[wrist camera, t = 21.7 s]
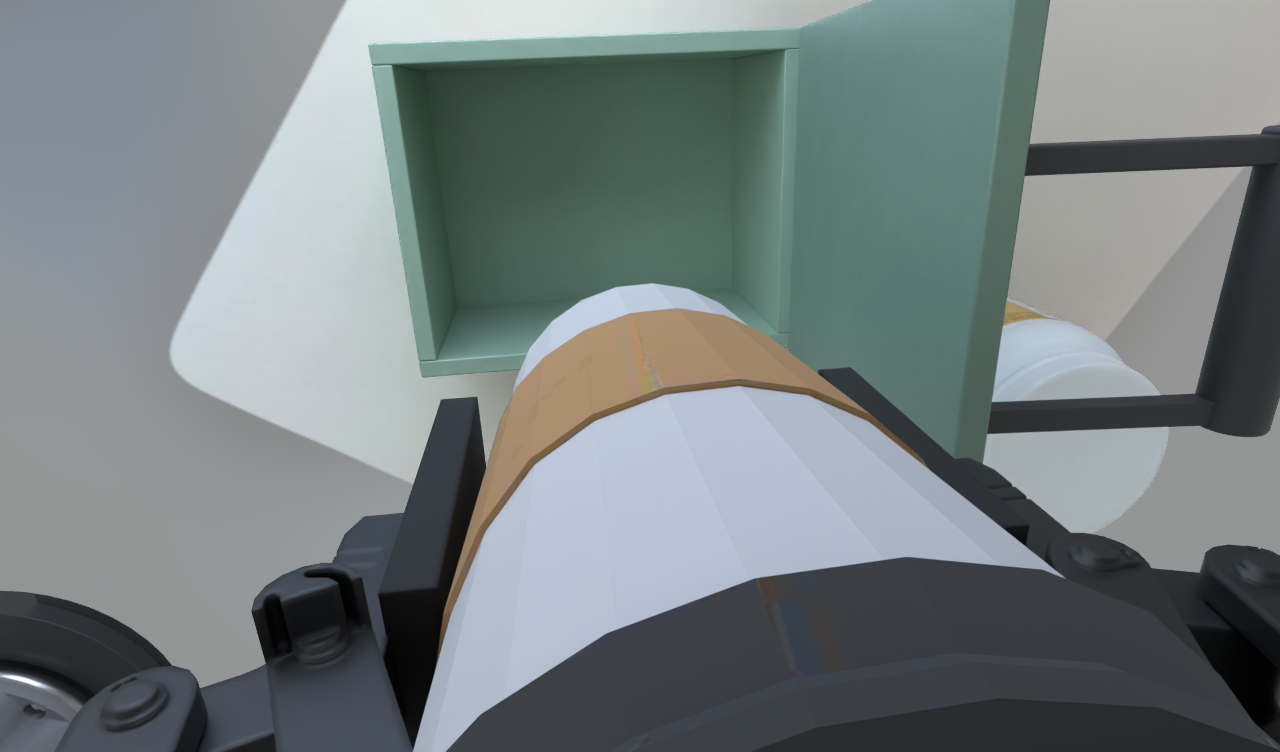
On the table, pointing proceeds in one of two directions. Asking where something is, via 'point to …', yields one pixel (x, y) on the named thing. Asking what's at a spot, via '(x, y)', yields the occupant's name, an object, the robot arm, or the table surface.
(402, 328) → the table surface
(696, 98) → the green box
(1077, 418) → the box lid
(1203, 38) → the table surface
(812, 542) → the coffee cup
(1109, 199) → the table surface
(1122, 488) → the supplement tub
